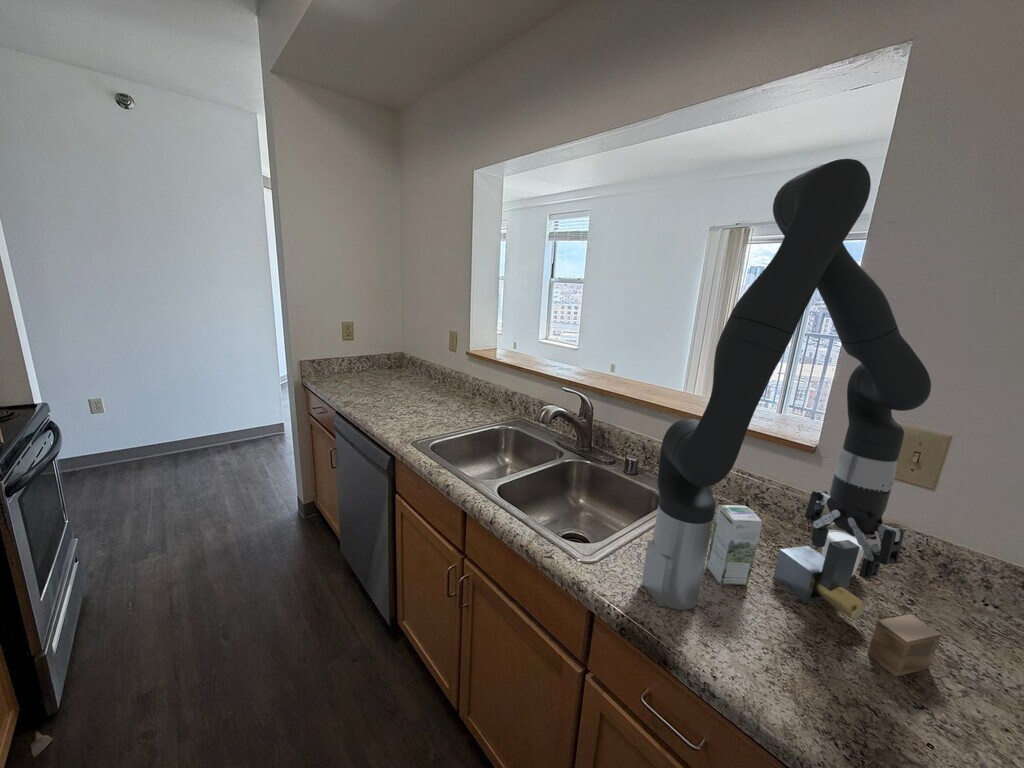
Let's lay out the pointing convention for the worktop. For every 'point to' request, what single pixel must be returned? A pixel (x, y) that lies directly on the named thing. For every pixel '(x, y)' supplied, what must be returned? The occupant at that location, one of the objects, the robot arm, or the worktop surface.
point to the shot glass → (840, 536)
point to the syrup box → (733, 544)
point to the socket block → (903, 644)
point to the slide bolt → (839, 578)
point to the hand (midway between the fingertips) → (840, 560)
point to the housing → (800, 571)
